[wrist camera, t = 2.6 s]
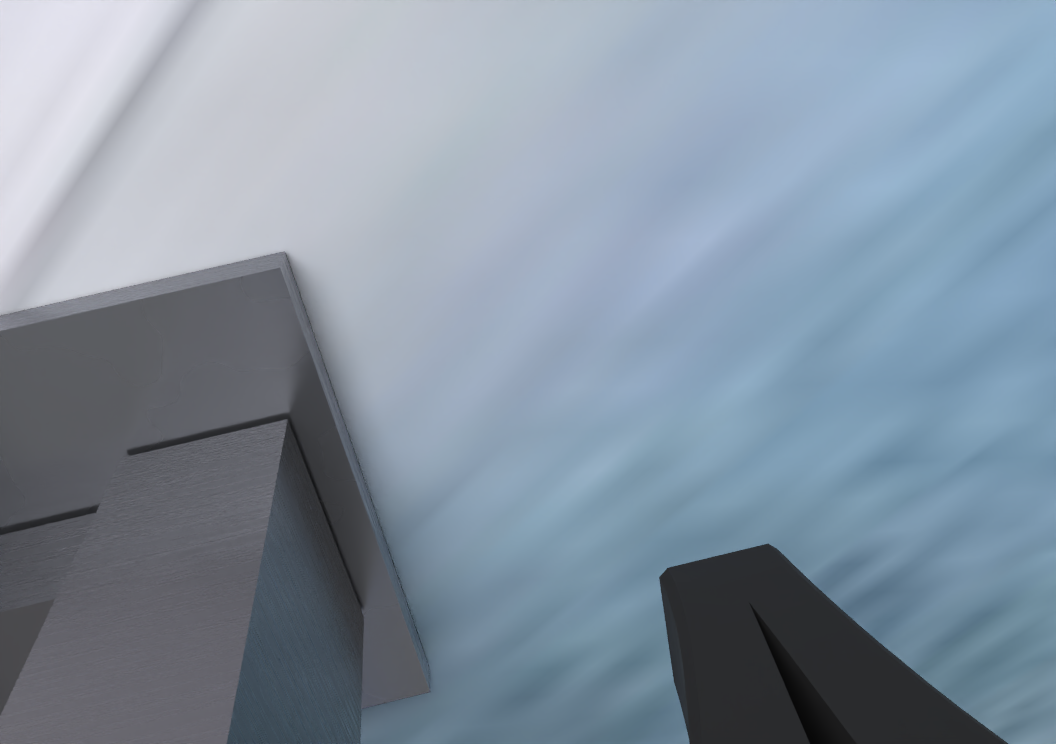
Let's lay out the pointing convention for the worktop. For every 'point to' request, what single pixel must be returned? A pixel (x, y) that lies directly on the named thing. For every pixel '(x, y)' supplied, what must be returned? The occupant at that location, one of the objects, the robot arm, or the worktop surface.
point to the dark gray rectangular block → (184, 607)
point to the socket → (192, 417)
